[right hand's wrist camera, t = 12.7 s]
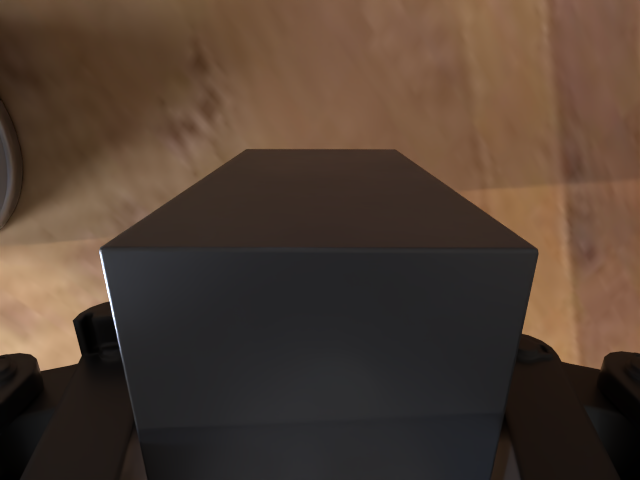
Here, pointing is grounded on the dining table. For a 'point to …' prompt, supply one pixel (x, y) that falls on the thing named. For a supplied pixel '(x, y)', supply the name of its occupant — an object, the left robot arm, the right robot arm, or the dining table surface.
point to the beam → (318, 322)
